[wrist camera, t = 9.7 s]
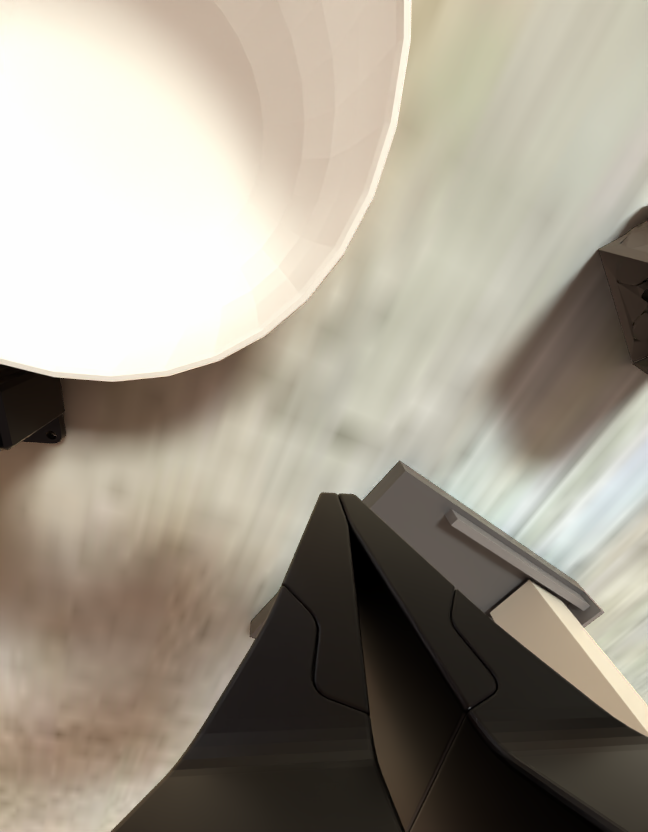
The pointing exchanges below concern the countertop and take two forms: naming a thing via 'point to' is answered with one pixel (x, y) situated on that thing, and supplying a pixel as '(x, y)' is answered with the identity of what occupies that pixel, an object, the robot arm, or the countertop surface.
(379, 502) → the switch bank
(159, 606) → the countertop surface
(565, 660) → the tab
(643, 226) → the electrical switch
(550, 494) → the countertop surface
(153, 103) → the bowl
